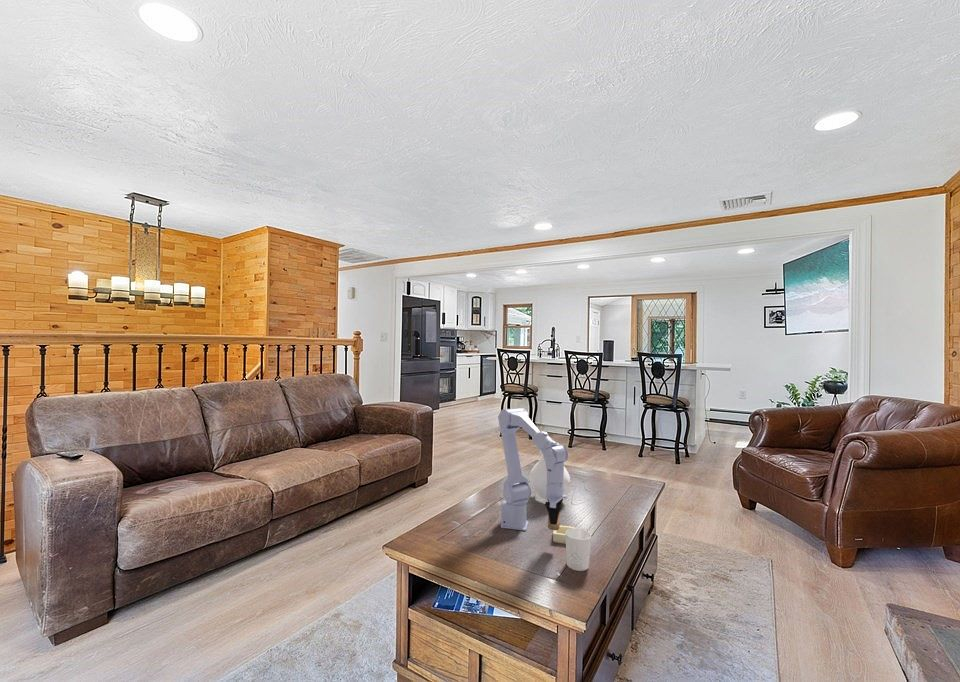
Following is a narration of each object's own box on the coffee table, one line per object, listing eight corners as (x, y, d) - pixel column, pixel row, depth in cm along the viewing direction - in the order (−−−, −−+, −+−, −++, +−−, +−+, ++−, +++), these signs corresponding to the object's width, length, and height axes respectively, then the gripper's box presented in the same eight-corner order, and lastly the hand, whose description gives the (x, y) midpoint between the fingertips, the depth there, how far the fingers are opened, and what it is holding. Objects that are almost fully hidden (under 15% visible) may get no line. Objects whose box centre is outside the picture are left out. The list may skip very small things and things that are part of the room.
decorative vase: (573, 507, 181) (574, 448, 181) (530, 506, 182) (532, 447, 182) (565, 492, 199) (566, 438, 199) (527, 491, 200) (528, 437, 199)
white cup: (586, 559, 139) (587, 528, 139) (593, 572, 131) (594, 539, 131) (562, 559, 138) (563, 528, 138) (568, 572, 130) (568, 539, 130)
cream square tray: (552, 542, 150) (553, 533, 150) (554, 532, 157) (554, 524, 157) (574, 544, 148) (575, 536, 148) (575, 535, 155) (575, 527, 155)
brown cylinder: (547, 529, 145) (548, 508, 145) (547, 524, 149) (548, 504, 149) (559, 530, 144) (560, 510, 144) (559, 525, 148) (560, 505, 148)
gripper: (565, 489, 138) (564, 531, 138) (567, 476, 152) (566, 514, 152) (543, 487, 140) (542, 529, 140) (547, 474, 154) (546, 511, 154)
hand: (553, 521), depth 146 cm, fingers closed on brown cylinder, 4 cm apart
